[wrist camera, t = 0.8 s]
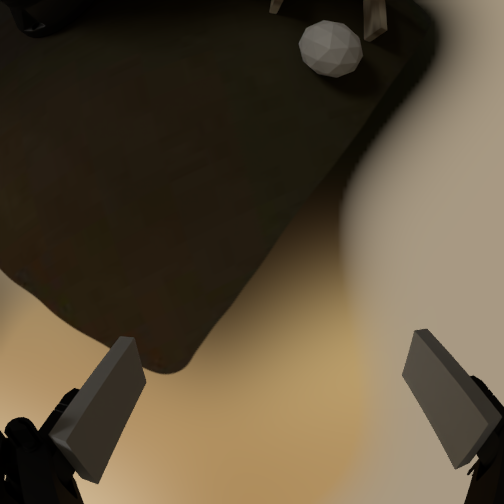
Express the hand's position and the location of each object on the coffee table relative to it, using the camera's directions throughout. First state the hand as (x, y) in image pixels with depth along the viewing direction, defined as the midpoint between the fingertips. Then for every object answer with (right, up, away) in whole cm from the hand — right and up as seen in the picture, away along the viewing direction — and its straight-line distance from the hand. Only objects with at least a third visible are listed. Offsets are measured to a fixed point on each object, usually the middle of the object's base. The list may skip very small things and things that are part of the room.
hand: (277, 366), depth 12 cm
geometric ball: (+8, +31, +19) cm, 37 cm away
